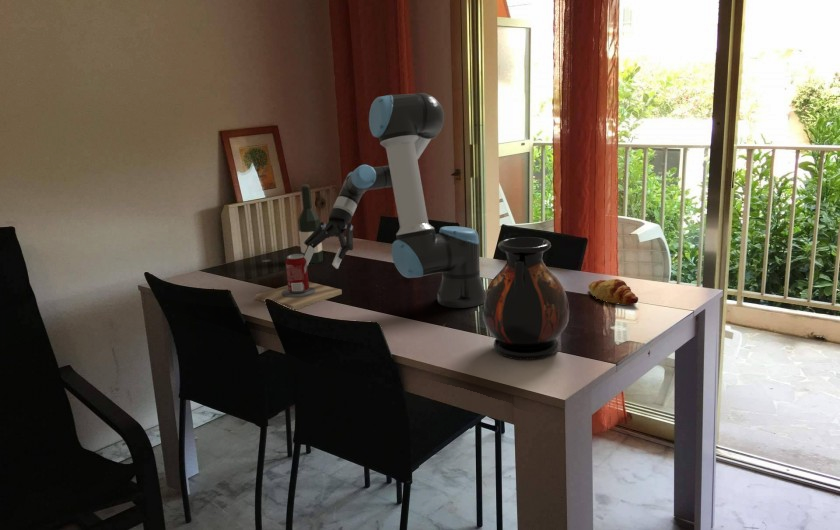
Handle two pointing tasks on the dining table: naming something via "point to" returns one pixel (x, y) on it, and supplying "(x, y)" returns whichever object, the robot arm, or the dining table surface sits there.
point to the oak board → (300, 295)
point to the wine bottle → (308, 225)
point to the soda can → (297, 273)
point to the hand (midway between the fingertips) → (319, 265)
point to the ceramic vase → (525, 302)
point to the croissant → (613, 291)
